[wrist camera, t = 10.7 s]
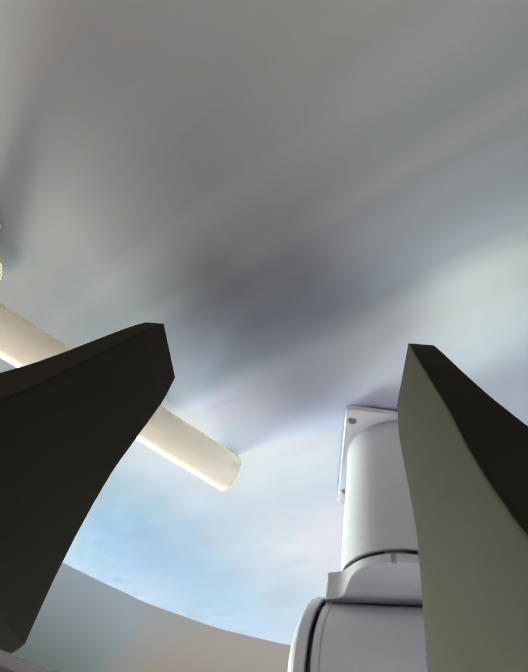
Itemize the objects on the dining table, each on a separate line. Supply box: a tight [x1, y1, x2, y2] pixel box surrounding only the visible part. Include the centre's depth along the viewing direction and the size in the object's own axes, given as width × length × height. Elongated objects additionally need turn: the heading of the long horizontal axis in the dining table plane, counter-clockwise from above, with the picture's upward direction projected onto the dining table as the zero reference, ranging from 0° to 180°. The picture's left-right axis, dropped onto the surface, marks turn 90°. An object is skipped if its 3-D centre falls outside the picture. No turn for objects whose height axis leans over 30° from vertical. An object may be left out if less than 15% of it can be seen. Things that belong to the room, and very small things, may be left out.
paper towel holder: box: [0, 224, 241, 491], centre depth 23 cm, size 9×9×32 cm
